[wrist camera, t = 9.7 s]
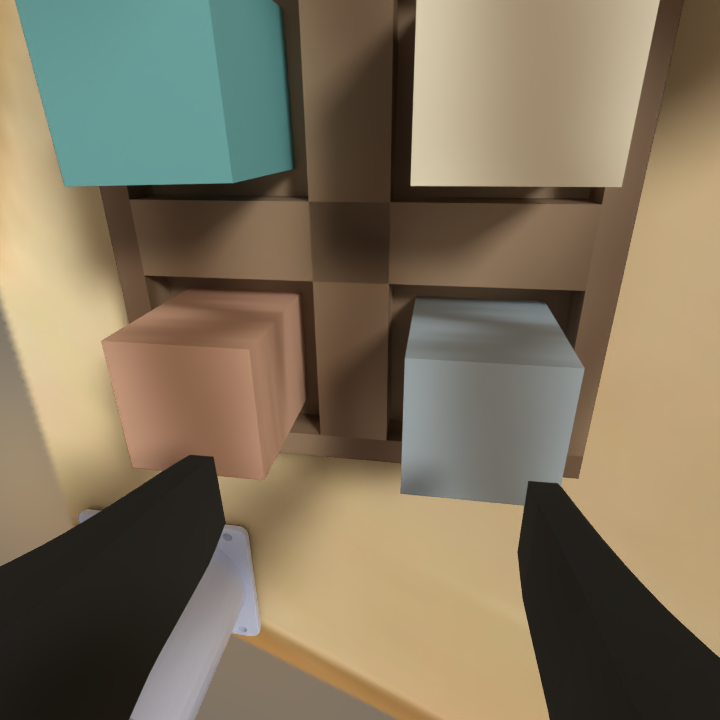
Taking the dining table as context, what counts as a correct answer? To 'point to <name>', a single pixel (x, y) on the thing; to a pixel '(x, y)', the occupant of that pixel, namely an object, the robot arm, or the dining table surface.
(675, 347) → the dining table surface
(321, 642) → the dining table surface
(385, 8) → the puzzle board
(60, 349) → the dining table surface
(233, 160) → the teal block
